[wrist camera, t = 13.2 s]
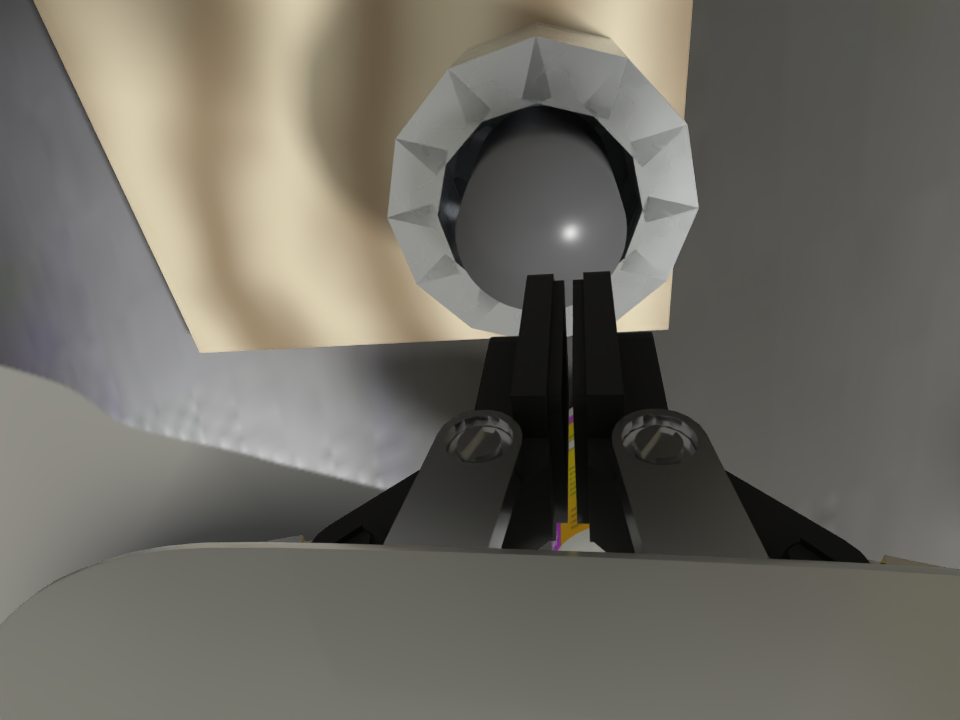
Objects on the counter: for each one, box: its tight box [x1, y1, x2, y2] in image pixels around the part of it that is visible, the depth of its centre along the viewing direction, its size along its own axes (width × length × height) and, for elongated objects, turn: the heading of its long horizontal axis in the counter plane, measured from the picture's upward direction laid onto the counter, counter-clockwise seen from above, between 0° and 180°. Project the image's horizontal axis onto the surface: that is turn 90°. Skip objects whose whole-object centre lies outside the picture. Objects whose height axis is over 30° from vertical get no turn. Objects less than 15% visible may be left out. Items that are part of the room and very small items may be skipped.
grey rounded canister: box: [455, 105, 627, 309], centre depth 20 cm, size 5×5×6 cm
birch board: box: [33, 0, 693, 353], centre depth 25 cm, size 24×16×1 cm, turn 97°
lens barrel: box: [387, 22, 699, 337], centre depth 21 cm, size 10×10×5 cm
